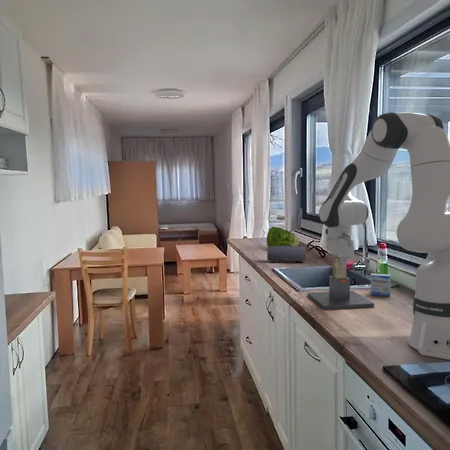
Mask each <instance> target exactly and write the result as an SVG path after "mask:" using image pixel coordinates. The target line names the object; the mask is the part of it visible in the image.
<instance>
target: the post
mask: <svg viewBox="0 0 450 450" xmlns="http://www.w3.org/2000/svg"><path fill="white" fill-rule="evenodd" d="M340 263H341V256H338V257H333V256H332V276H333V277H334V278H336V279H339V278H346V277H347V266H346V267H345V268H342V267H340Z"/></svg>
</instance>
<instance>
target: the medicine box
mask: <svg viewBox="0 0 450 450" xmlns="http://www.w3.org/2000/svg"><path fill="white" fill-rule="evenodd" d="M391 280H392V279H391V274H389V273H388V274H387V273H384V274H383V273H371V274H370V295H371V296H382V297H390V296H391Z"/></svg>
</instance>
